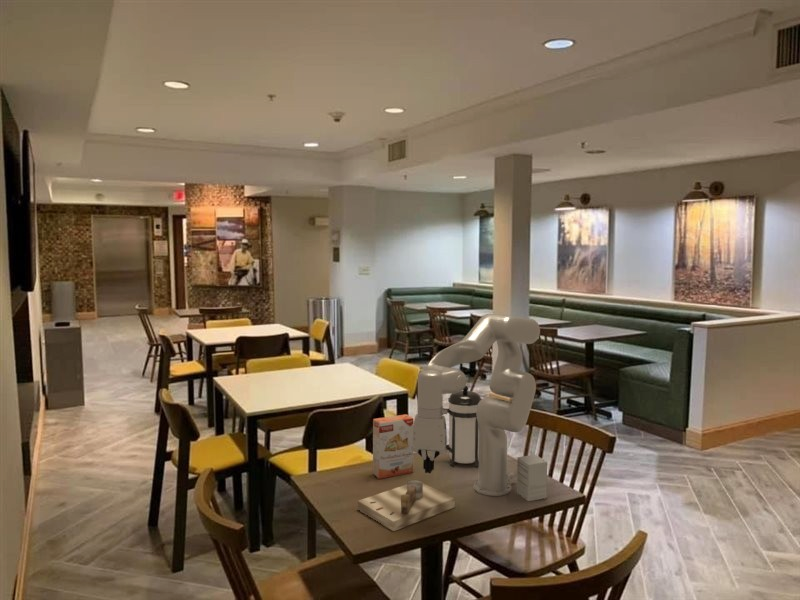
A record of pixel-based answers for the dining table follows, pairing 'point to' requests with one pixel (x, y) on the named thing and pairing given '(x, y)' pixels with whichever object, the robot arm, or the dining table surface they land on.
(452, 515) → the dining table surface
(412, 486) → the lever
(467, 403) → the coffee press
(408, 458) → the cracker box
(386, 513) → the dial board
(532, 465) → the supplement box
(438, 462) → the dining table surface
